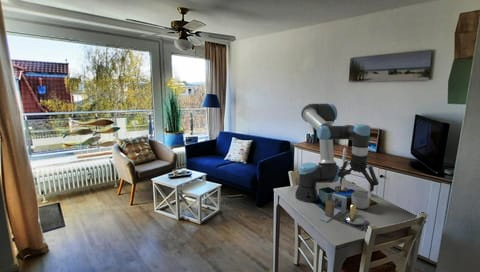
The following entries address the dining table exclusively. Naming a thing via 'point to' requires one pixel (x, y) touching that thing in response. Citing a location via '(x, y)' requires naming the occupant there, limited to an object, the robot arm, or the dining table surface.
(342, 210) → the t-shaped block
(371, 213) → the dining table surface
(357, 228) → the wheel stand
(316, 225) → the dining table surface
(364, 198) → the teacup
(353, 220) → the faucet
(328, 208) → the post in wooden base
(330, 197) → the flower pot
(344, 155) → the candlestick
